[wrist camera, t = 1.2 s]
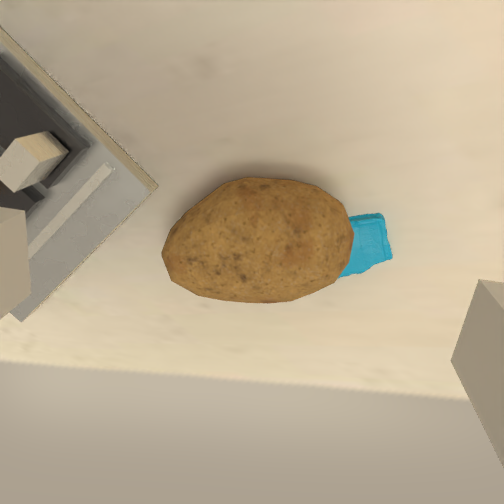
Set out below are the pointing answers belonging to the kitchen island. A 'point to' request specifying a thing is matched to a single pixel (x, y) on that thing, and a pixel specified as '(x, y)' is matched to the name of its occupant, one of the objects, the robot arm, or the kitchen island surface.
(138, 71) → the kitchen island surface
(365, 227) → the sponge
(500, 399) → the robot arm
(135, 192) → the panel
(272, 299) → the potato
